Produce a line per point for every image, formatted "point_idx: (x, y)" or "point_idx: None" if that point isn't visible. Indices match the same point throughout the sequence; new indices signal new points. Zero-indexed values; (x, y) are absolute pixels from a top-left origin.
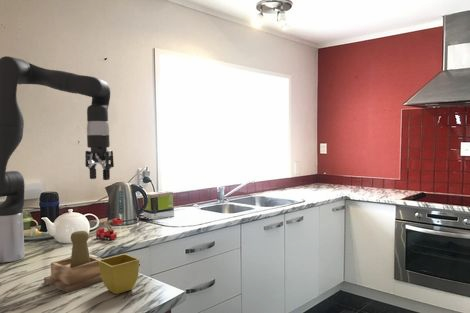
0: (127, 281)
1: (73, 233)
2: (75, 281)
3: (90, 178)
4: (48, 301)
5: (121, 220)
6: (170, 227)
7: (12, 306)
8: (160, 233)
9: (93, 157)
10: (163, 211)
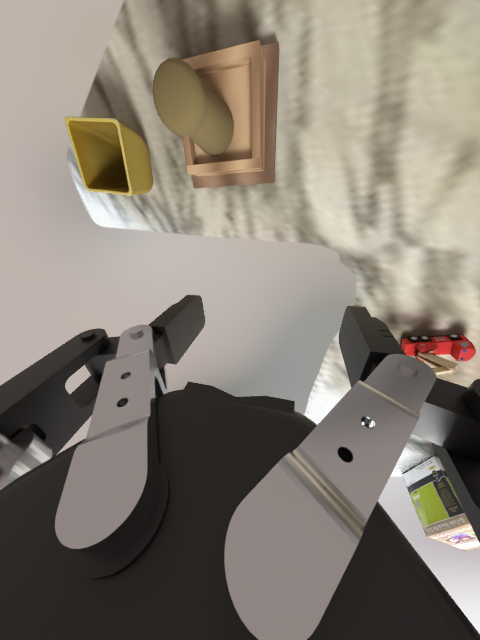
0: (109, 166)
1: (169, 63)
2: None
3: (356, 306)
4: (161, 5)
5: None
6: None
7: None
8: (336, 394)
9: (279, 473)
10: (421, 480)
